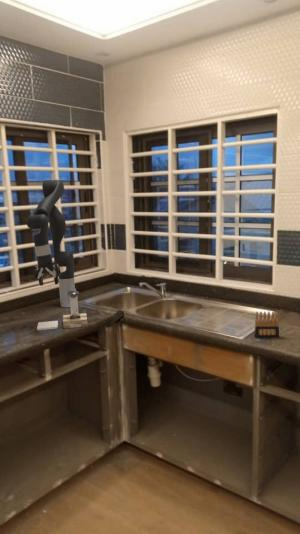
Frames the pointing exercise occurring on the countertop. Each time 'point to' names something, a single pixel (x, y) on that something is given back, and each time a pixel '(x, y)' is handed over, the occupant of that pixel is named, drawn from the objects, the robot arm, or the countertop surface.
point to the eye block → (75, 321)
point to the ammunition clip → (266, 326)
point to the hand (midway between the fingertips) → (49, 284)
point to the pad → (47, 325)
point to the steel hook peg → (74, 304)
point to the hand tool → (114, 318)
